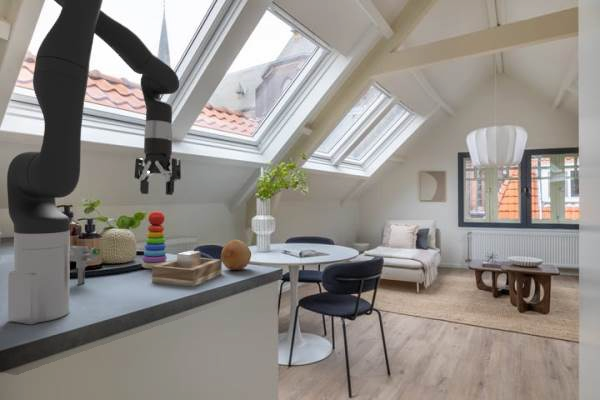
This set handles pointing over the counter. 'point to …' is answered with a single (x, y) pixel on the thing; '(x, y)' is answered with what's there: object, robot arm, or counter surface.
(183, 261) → the white block
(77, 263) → the mechanical component
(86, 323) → the counter surface
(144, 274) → the counter surface
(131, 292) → the counter surface
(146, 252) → the stacking toy
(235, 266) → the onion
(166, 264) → the brown wooden tray
